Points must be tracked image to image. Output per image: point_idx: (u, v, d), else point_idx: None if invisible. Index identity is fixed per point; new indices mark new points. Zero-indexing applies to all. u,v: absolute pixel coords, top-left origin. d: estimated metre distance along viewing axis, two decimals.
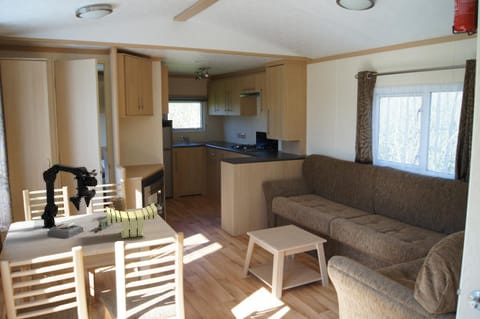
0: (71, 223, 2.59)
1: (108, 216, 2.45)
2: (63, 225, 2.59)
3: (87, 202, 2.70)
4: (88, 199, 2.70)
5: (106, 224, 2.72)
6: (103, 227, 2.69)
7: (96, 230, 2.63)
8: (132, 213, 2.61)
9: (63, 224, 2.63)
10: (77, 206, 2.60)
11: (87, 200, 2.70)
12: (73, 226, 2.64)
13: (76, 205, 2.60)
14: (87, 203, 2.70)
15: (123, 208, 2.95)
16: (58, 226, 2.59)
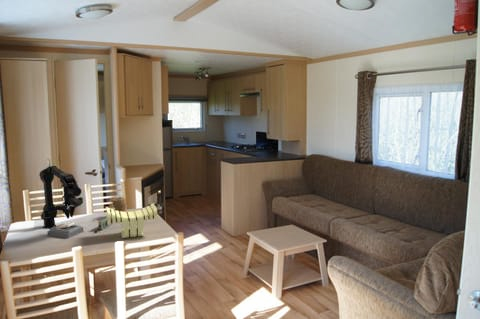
0: (71, 223, 2.59)
1: (108, 216, 2.45)
2: (63, 225, 2.59)
3: (71, 212, 2.60)
4: (72, 208, 2.60)
5: (106, 224, 2.72)
6: (103, 227, 2.69)
7: (96, 230, 2.63)
8: (132, 213, 2.61)
9: (63, 224, 2.63)
10: (67, 213, 2.56)
11: (71, 209, 2.60)
12: (73, 226, 2.64)
13: (66, 212, 2.56)
14: (71, 213, 2.60)
15: (123, 208, 2.95)
16: (58, 226, 2.59)
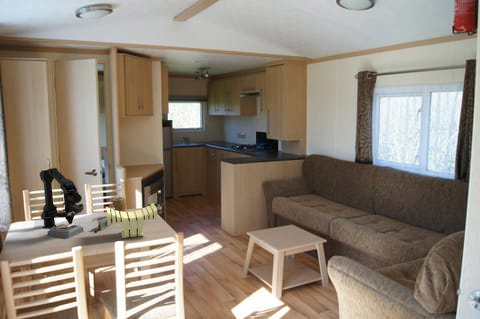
0: None
1: (108, 216, 2.45)
2: (63, 225, 2.59)
3: None
4: None
5: (105, 224, 2.73)
6: (102, 227, 2.69)
7: (96, 230, 2.63)
8: (132, 213, 2.61)
9: (63, 224, 2.63)
10: (69, 220, 2.58)
11: (70, 217, 2.59)
12: (73, 226, 2.64)
13: (68, 219, 2.58)
14: None
15: (123, 208, 2.95)
16: (58, 226, 2.59)
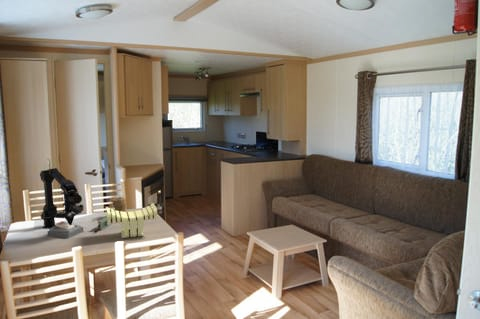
0: (72, 227, 2.60)
1: (108, 216, 2.45)
2: (63, 225, 2.59)
3: None
4: None
5: (105, 224, 2.73)
6: (102, 227, 2.69)
7: (95, 230, 2.63)
8: (132, 213, 2.61)
9: (63, 222, 2.63)
10: (69, 220, 2.58)
11: None
12: None
13: (68, 219, 2.58)
14: None
15: (123, 208, 2.95)
16: (58, 224, 2.59)
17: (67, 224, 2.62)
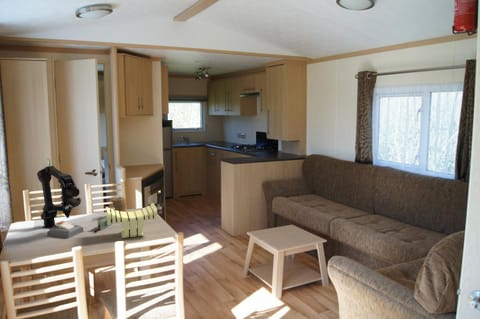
0: (72, 227, 2.60)
1: (108, 216, 2.45)
2: (63, 225, 2.59)
3: None
4: None
5: (105, 224, 2.73)
6: (102, 227, 2.69)
7: (95, 230, 2.63)
8: (132, 213, 2.61)
9: (63, 222, 2.63)
10: (66, 213, 2.60)
11: None
12: None
13: (65, 212, 2.60)
14: None
15: (123, 208, 2.95)
16: (58, 223, 2.59)
17: (67, 224, 2.62)
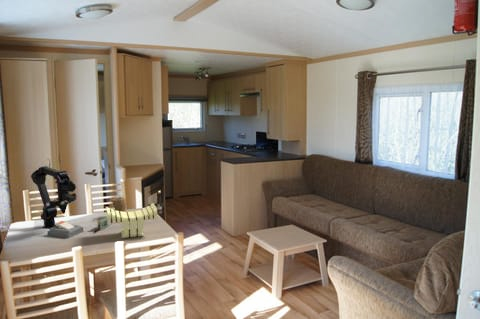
0: (72, 227, 2.60)
1: (108, 216, 2.45)
2: (63, 225, 2.59)
3: None
4: None
5: (105, 224, 2.73)
6: (102, 227, 2.69)
7: (95, 230, 2.63)
8: (132, 213, 2.61)
9: (63, 222, 2.63)
10: (62, 208, 2.64)
11: None
12: None
13: (61, 207, 2.64)
14: None
15: (123, 208, 2.95)
16: (58, 223, 2.59)
17: (67, 224, 2.62)
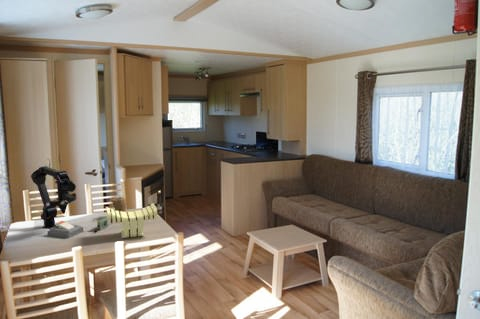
0: None
1: (108, 216, 2.45)
2: (63, 225, 2.59)
3: None
4: None
5: (105, 224, 2.73)
6: (102, 227, 2.69)
7: (95, 230, 2.63)
8: (132, 213, 2.61)
9: (63, 221, 2.63)
10: (62, 208, 2.64)
11: None
12: None
13: (61, 207, 2.64)
14: None
15: (123, 208, 2.95)
16: (58, 223, 2.59)
17: (67, 224, 2.62)
